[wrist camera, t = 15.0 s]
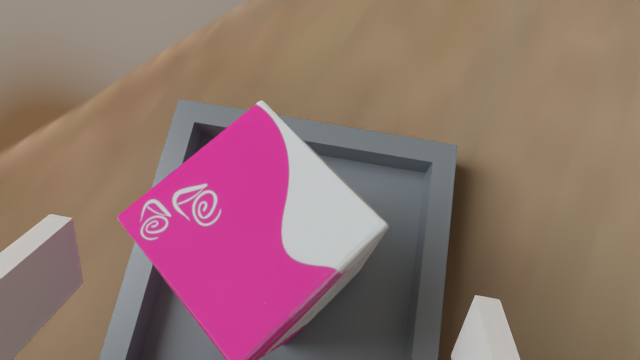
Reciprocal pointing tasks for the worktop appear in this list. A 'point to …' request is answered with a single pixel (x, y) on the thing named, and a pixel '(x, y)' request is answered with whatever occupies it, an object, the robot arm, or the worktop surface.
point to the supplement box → (254, 234)
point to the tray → (367, 286)
